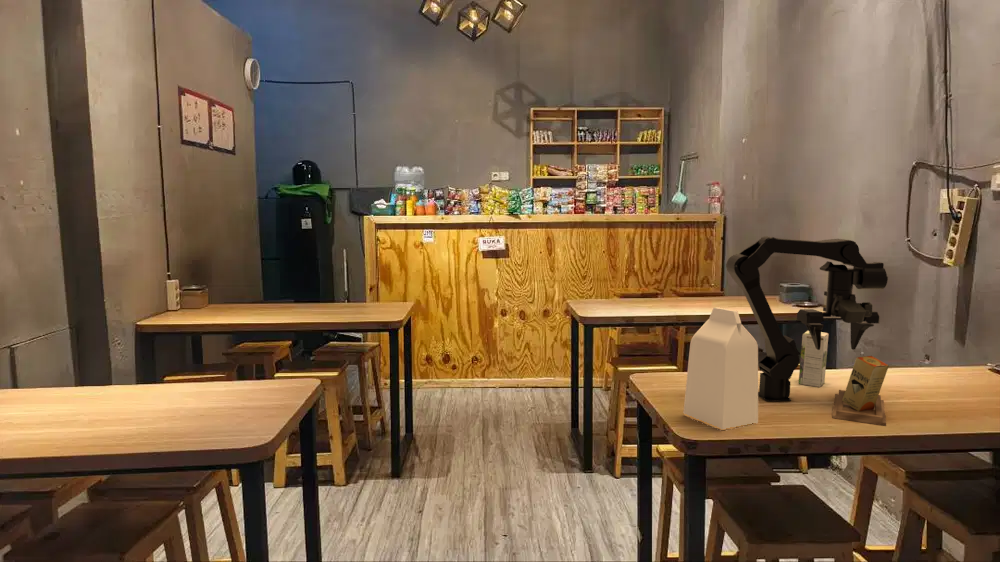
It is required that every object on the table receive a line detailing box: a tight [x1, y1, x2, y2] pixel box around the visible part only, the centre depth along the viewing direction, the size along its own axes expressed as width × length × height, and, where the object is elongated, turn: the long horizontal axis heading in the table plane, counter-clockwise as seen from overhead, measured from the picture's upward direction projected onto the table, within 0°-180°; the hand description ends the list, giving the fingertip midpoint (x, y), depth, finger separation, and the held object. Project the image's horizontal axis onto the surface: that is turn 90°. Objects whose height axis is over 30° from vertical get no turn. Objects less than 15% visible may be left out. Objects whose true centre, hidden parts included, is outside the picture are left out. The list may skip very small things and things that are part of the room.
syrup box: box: [798, 330, 830, 388], centre depth 183 cm, size 6×6×14 cm
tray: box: [831, 389, 887, 426], centre depth 161 cm, size 11×20×2 cm, turn 151°
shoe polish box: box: [842, 355, 890, 411], centre depth 159 cm, size 5×5×12 cm
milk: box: [682, 306, 759, 429], centre depth 152 cm, size 12×12×26 cm
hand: (835, 349), depth 169 cm, fingers open, 9 cm apart
